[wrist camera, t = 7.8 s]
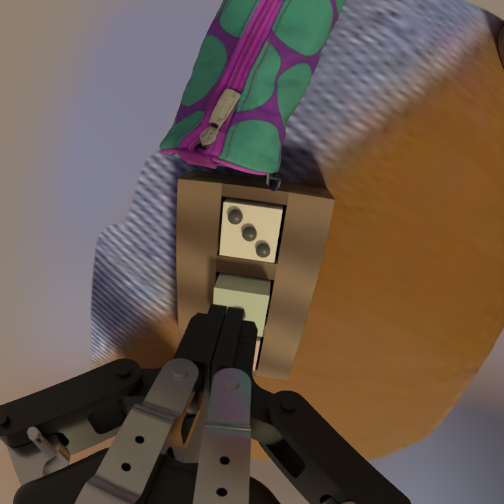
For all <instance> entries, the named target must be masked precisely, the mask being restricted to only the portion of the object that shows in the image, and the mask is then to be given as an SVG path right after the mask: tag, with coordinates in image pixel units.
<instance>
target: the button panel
mask: <svg viewBox="0 0 504 504" xmlns="http://www.w3.org/2000/svg"><path fill="white" fill-rule="evenodd" d="M269 182H271V179H270V180H269ZM223 197H231V198H239V199H247V200H254V201H261V202H268V203H275V204H282V205H286V211H285V217H284V224H283V230H282V236H281V242H280V248H279V254H278V259H275V261H274V263H272V262H265V261H258V260H251V259H244V258H237V257H230V256H224V255H220V250H219V244H220V231H221V218H222V206H223ZM334 203H335V199H334V198H333V196H332V195H331V193H330V192H329V190H328V189H327V188H322V187H316V186H310V185H304V184H298V183H291V182H285V181H280V186H279V188H278V189H277V190H276V191H274V192H272V191H271V189H270V188H269V187H268V185H267V184H266V179H264V178H256V177H249V176H240V175H232V174H223V173H213V172H203V171H191V172H189V173H188V174H186V175H184V176H182V177H181V178H179V179H178V187H177V222H176V272H177V307H178V328H179V344H180V342H181V340H182V337H183V335H184V333H185V330H186V328H187V326H188V323H189V321H190V319H191V318H192V317H193V316H194V315H196V314H197V313H198V312H199V313H204V314H207V313H208V310H209V308H210V305H211V304H213V298H214V286H215V284H216V281H217V273H218V272H223V273H230V274H236V275H243V276H250V277H257V278H263V279H270V280H274V282H273V288H272V294H271V299H270V305H269V310H268V315H267V319H265V324H264V329H263V335H262V337H263V342H262V347H260V346H259V351H258V356H257V362H256V367H255V371H254V370H253V371H252V375H253V376H261V377H269V378H277V379H287V380H288V378H289V375H290V371H291V368H292V365H293V362H294V359H295V356H296V352H297V349H298V346H299V342H300V339H301V336H302V332H303V329H304V325H305V322H306V318H307V315H308V311H309V308H310V304H311V300H312V297H313V293H314V289H315V285H316V281H317V277H318V273H319V269H320V265H321V261H322V257H323V253H324V249H325V245H326V240H327V236H328V231H329V227H330V222H331V218H332V213H333V208H334Z"/></svg>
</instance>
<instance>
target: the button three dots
mask: <svg viewBox="0 0 504 504" xmlns="http://www.w3.org/2000/svg"><path fill="white" fill-rule="evenodd" d="M282 211H283V205H282V204H275V203H268V202H261V201H254V200H247V199H239V198H231V197H227V198H226V199H225V201H224V203H223V215H222V228H221V241H220V255H224V256H230V257H237V258H244V259H251V260H258V261H265V262H272V263H274V261H275V255H276V249H277V243H278V237H279V230H280V224H281V218H282Z"/></svg>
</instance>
